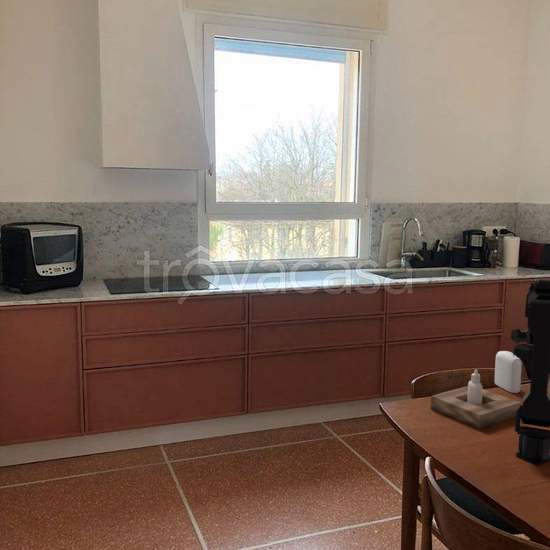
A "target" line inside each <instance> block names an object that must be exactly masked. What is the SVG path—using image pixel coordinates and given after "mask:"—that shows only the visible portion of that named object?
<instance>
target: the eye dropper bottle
mask: <svg viewBox="0 0 550 550" xmlns="http://www.w3.org/2000/svg"><path fill="white" fill-rule="evenodd" d="M480 381H481V374H480V373H478V369H474V372H473V373H471V379H470V380H469V381H468V384H467V386H468V398H467V403H470V404H473V405H475V406H480V405H482V389H483V385H482V383H481V382H480Z"/></svg>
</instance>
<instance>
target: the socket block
mask: <svg viewBox="0 0 550 550" xmlns="http://www.w3.org/2000/svg"><path fill="white" fill-rule="evenodd" d="M467 398H468V385H466V386H463V387H460V388H455V389H451V390H447V391H444V392H441V393H436V394H433V395H431V396H430V409H431V408H432V409H431V410H433V409H435V410H437V411H436V412H438V411H439V412H438V413H440V412H441V414H443V413H444V414H443V415H445V414H446V415H445V416H447V415H448V417H450V418H452V417H453V418H452V419H455V420H457V421H460V422H461V423H465V424H467V425H470V426H472V427H475V428H477V429H483V428H485V427H489V426H492V425H495V424H498V423H501V422H504V421H507V420H509V419H513V418H516V410H517V409H519V407H520V405H522V404H521V401H518V400H515V399H512V398H510V397H506V396H504V395H500V394H498V393H495V392H492V391H489V390H486V389H483V388H482V405H480V406H475V405H473V404H470V403H467ZM435 410H434V411H435Z"/></svg>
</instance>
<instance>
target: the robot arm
mask: <svg viewBox="0 0 550 550" xmlns="http://www.w3.org/2000/svg"><path fill="white" fill-rule="evenodd" d="M525 300H526V301H525V310H524V318H525V319H527V330H521V329H520V328H517V329H512V330H511V331H510V337H509V339H510V340H511V341H513V342H514V344H516V345H515V346H514V347H512V353H513V355H516V357H517V358H519V359H520V360H521V362H522V363H523V364H522V365H523V366H524V370H525V374H526V376H527V379H528V380H530V385H529V386H530V387H529V389H528V391H526V392H525V394H524V396H523V399H522V404H521V405H520V407H519V409H517V410H516V417H515V421H514V422H515V423H514V431H515V433H516V434H517V435H518V445H517V446H518V448H517V450H518V452H515V457H518V458H521V459H523V460H525V461H528V462H530V463H532V464H535V465H538V466H539V465H541V464H542V465H543V464H544V463H547V462H550V393H549V391H548V387H549V386H548V385H549V375H550V278H549V279H547V278H546V279H545V278H535V279H534V282H530V285H529V286H528V293H527V294H526V299H525ZM524 342H525V343H524ZM522 423H523V425H522ZM531 426H533V427H531ZM538 427H539V428H538ZM540 427H541V428H540ZM545 428H548V429H545Z"/></svg>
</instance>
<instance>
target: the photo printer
mask: <svg viewBox="0 0 550 550" xmlns="http://www.w3.org/2000/svg"><path fill="white" fill-rule="evenodd" d="M522 363H523V362H522V360H521V359H520V358H517V357H516V355H513V352H511V351H507V350H499V351H498V352H497V353H496V354H495V363H494V365H495V366H494V384H495V385H496V386H497V387H499V388H501V389H503V390H504V391H507V392H509V393H512V394H518V393H519V392H520V391H521V384H522V383H521V382H522V381H521V380H522V365H523V364H522Z"/></svg>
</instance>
